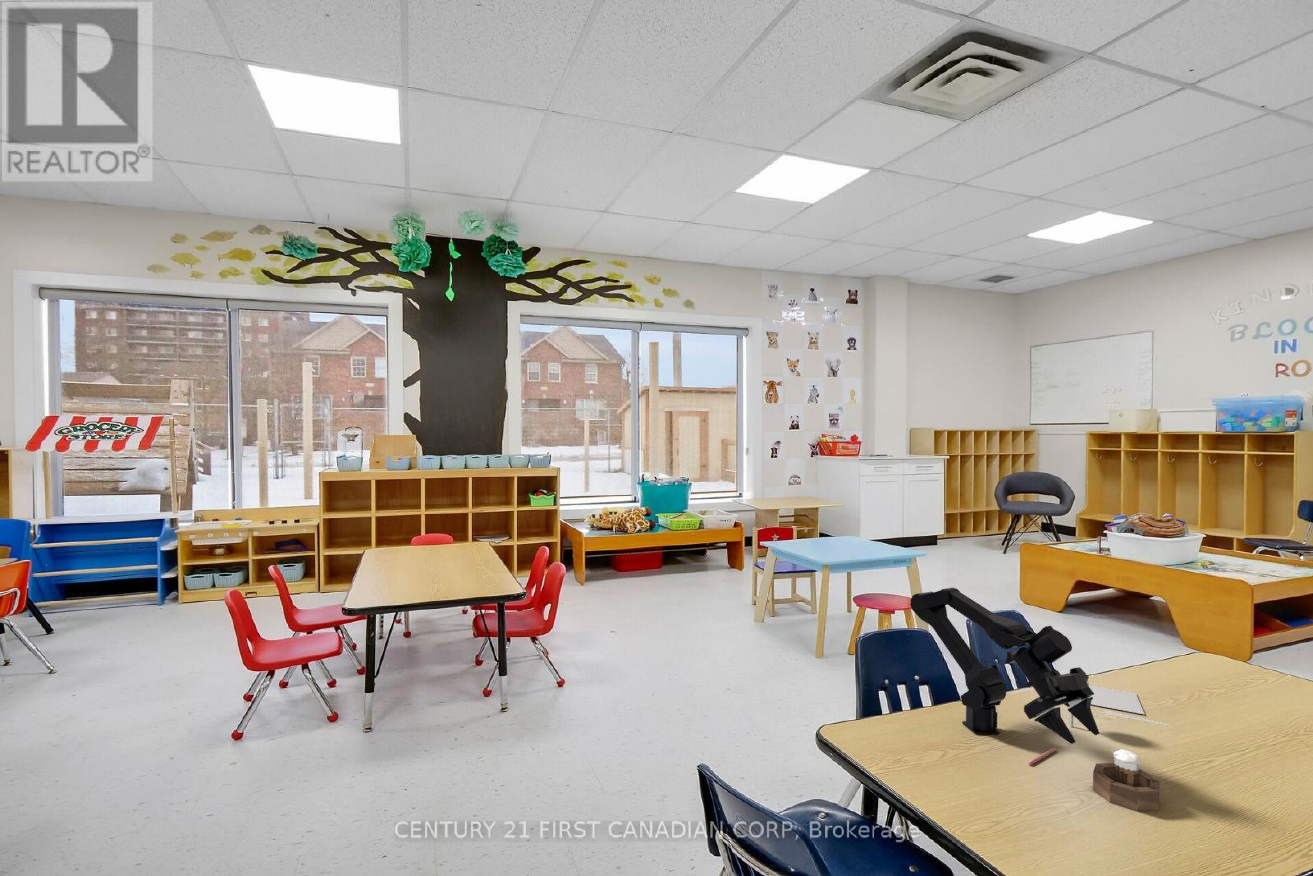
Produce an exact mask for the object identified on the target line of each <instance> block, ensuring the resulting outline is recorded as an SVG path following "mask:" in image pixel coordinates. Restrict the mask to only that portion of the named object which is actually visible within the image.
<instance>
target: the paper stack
mask: <svg viewBox="0 0 1313 876" xmlns="http://www.w3.org/2000/svg"><path fill="white" fill-rule="evenodd" d="M1089 687H1090V689H1091V690H1092V691H1093V693H1094V695H1092V696H1090V697H1093V700H1092V701H1091V706H1098V707H1104V708H1109V709H1113V710H1120V711H1125V712H1130V713H1134V714H1138V715H1139V714H1141V715H1145V712H1144V709H1143V707H1142V705H1141V703H1140V699H1139V698H1138V695H1137V693H1134V692H1129V691H1124V690H1123V691H1122V690H1117V689H1112V688H1107V687H1101V686H1096V685H1095V686H1094V685H1090V684H1089ZM1090 697H1089V698H1090ZM1103 712H1104V714H1106V715H1110V716H1112V715H1113V716H1117V717H1123V718H1127V719H1132V720H1136V721H1143V722H1148V723H1152V724H1158V725H1163V726H1170V725H1169V723H1165V722H1161V721H1156V720H1151V719H1147V718H1142V717H1138V716H1133V715H1130V714H1124V713H1120V712H1115V711H1111V710H1110V711H1109V710H1106V709H1103Z"/></svg>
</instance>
